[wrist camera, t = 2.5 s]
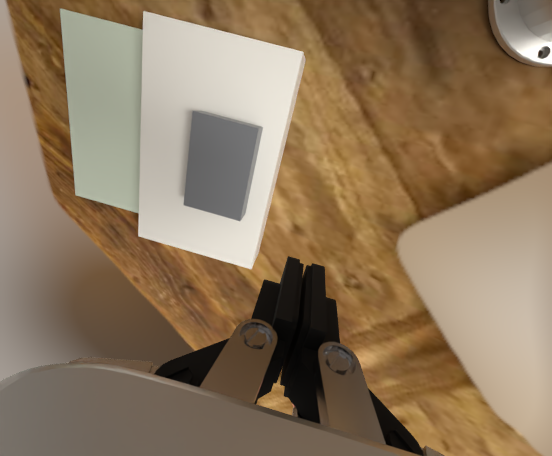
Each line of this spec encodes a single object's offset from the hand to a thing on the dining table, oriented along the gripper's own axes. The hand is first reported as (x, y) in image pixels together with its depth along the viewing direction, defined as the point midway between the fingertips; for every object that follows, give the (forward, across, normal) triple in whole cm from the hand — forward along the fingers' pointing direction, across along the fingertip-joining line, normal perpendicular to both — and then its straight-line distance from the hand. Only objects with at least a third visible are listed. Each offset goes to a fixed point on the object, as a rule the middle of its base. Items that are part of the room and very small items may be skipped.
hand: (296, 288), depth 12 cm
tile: (+16, +9, 0) cm, 18 cm away
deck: (+20, +11, 0) cm, 23 cm away
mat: (+20, +24, 0) cm, 31 cm away
